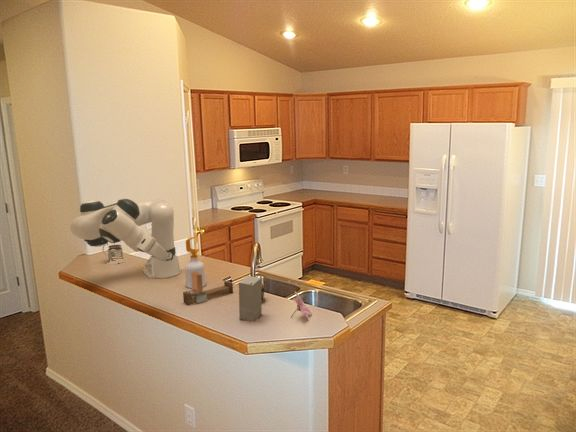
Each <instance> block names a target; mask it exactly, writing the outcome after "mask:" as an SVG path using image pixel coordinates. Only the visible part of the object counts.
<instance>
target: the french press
mask: <svg viewBox="0 0 576 432" xmlns="http://www.w3.org/2000/svg"><path fill="white" fill-rule="evenodd" d="M106 245H107V246H108V249H107V251H108V254H107V253H106V252H105V251H104V250H105V248H104V247H105V246H106ZM102 252H103V254H105V256H107V257H108V261H109V260H111V261H116V260H113V259H123V260H124V254H123V247H122V245H121V244H116V243H113V244H112V245H111V244H110V245H109V242H108V243H107V244H105V245H103V246H102ZM112 257H117V258H112ZM121 257H122V258H121Z"/></svg>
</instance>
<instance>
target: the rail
mask: <svg viewBox="0 0 576 432" xmlns="http://www.w3.org/2000/svg"><path fill="white" fill-rule="evenodd" d="M223 284H224V285H221V286H216V287H213V288H209V289H207V290H205V291H206V294H207V301H209V300H212V299H216V298H219V297H223V296H227V295H230V294H233V293H234V287H233V285H234V284H233V281H230V280H224V281H223ZM182 297H183V300H182V301H183V304H185V305H187V306H190V305H196V304H197V303H196V301H195V296H194V295H192V294H191V293H190V292H189V290H186V291H182Z"/></svg>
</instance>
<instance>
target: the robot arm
mask: <svg viewBox="0 0 576 432" xmlns="http://www.w3.org/2000/svg"><path fill="white" fill-rule="evenodd" d="M79 212H80V215H79V216H76V218H73V220H72V221H71V223H70V225H69V226H70V227H69V229H70V231H71V233H72V234H73V236H75V237H77V238H78V239H82V240H84V242H86V244H87V245H89V246H90V247H94V248H95V247H96V248H97V247H98V248H99V247H104V246H103V245H105V244H106V245H107V243H108V244H109V243H111V244H114V243H115V244H116V243H119V242H120V243H121V241H122V242H123V243H124V244H125V245H126V246H128V247H129V248H130V249H132V250H133V251H134V252H137V253H138V252H140V253H141V252H142V253H145V254H147V255H150V257H149V258H148V259H147V261H146V263H145V268H144V269H143V270H142V271H144V272H145V273H144V272H143V273H144V275H147V276H146V277H147V279H148V278H149V279H165V278H166V279H167V278H171V277H175V276H178V275H179V274H180V273H181V272H182V271H183V268H182V267H180V261H179V259H180V258H179V256H178V255H177V254H176V253H177V252H176V247H175V238H174V237H175V236H174V226H175V220H174V219H175V217H174V216H175V214H174V213H175V212H174V209H173V207H172V206H171V204H169V203H167V202H166V201H165V200H162V199H154V200H150V201H144V202H141V203H136V201H134V200H131V199H130V198H129V199H128V198H121V199H118V200H117V202H116V203H111V204H109V205H106V206H105V205H104V203H103V202H101V201H100V200H95V199H91V200H86V201H85V202H83V203H81V204H80V206H79ZM150 223H151V233H150V232H148V231H147V230H146V229H145V228H143V225H146V224H150ZM141 226H142V227H141ZM106 245H105V246H106Z"/></svg>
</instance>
